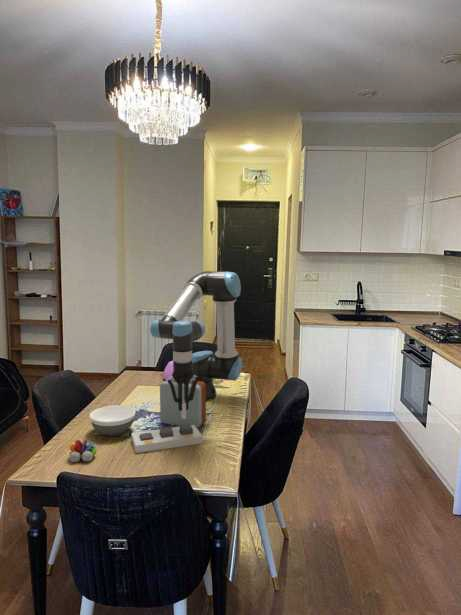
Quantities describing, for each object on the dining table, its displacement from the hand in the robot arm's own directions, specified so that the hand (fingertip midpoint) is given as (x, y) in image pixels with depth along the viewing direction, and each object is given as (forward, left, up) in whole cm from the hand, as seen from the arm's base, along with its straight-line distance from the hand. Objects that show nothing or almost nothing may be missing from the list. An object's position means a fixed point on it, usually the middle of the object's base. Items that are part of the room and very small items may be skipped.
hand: (183, 417), depth 187 cm
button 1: (+15, 0, -9) cm, 17 cm away
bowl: (+26, -17, -9) cm, 32 cm away
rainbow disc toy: (+39, +4, -9) cm, 40 cm away
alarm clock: (-4, -17, -9) cm, 20 cm away
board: (+7, 0, -9) cm, 11 cm away
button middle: (+7, 0, -7) cm, 10 cm away
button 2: (-1, 0, -7) cm, 7 cm away
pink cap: (-16, -80, -9) cm, 82 cm away
